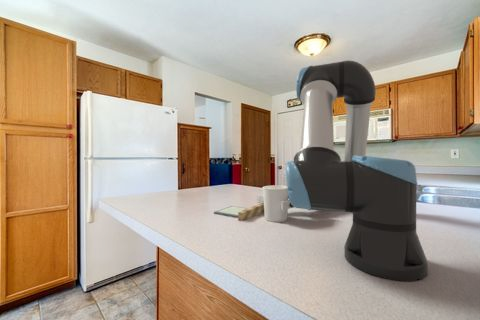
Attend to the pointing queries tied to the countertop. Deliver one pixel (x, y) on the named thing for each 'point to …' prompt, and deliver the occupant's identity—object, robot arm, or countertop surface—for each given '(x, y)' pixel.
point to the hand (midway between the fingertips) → (268, 202)
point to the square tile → (230, 211)
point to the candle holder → (275, 202)
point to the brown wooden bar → (250, 212)
